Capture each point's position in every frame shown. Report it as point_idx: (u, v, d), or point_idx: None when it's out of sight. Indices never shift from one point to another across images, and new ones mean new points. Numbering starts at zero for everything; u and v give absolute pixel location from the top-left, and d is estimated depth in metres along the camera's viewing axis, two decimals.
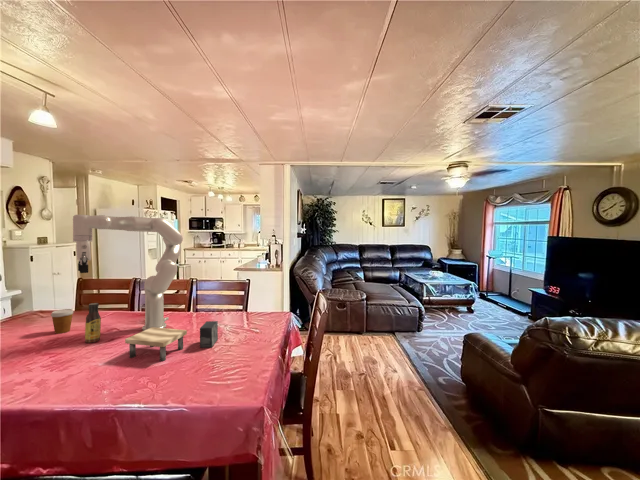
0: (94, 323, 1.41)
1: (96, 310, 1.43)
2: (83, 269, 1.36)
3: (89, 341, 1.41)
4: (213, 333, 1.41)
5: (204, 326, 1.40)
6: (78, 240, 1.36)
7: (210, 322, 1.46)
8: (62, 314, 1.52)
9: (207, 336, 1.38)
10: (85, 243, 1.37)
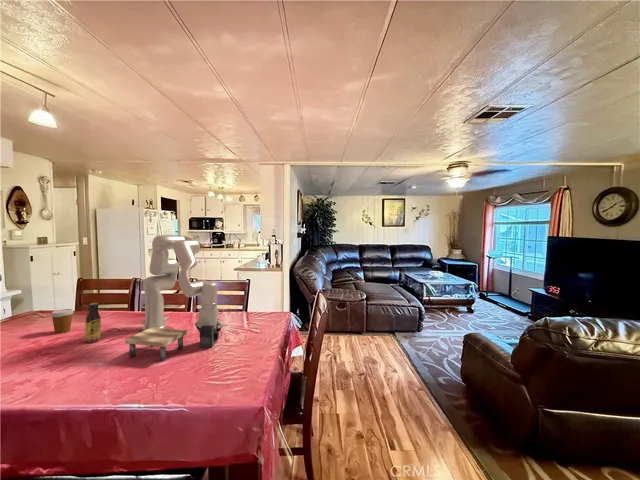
0: (94, 323, 1.41)
1: (96, 310, 1.43)
2: None
3: (89, 341, 1.41)
4: (213, 332, 1.41)
5: (204, 326, 1.40)
6: None
7: None
8: (62, 314, 1.52)
9: (207, 336, 1.38)
10: None
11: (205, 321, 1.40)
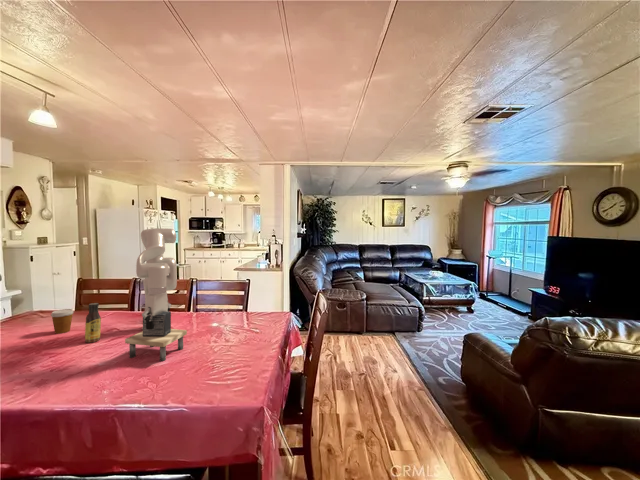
0: (94, 323, 1.41)
1: (96, 310, 1.43)
2: None
3: (89, 341, 1.41)
4: None
5: None
6: None
7: (163, 312, 1.31)
8: (62, 314, 1.52)
9: None
10: None
11: None
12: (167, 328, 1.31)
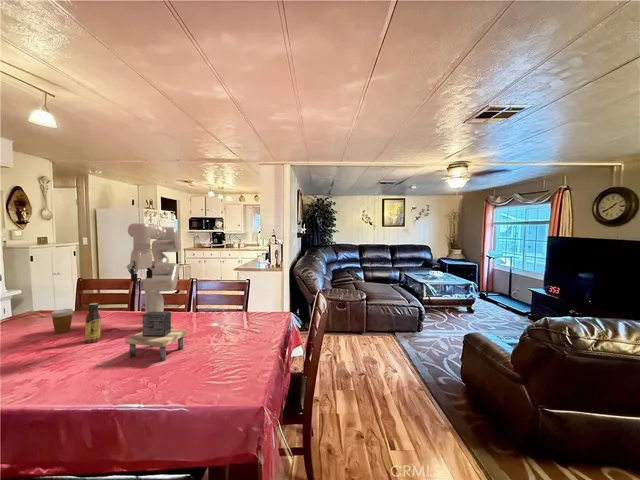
0: (94, 323, 1.41)
1: (96, 310, 1.43)
2: None
3: (89, 341, 1.41)
4: (148, 323, 1.28)
5: (152, 312, 1.32)
6: None
7: (163, 312, 1.31)
8: (62, 314, 1.52)
9: None
10: None
11: None
12: (167, 328, 1.31)
